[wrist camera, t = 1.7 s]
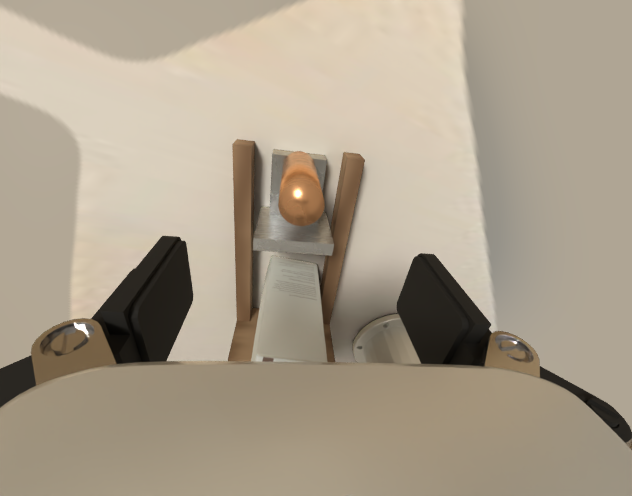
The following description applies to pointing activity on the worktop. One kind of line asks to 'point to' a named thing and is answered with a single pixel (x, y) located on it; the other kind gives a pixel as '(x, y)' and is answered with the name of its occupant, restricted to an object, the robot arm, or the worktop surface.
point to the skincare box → (290, 314)
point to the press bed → (244, 245)
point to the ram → (295, 207)
